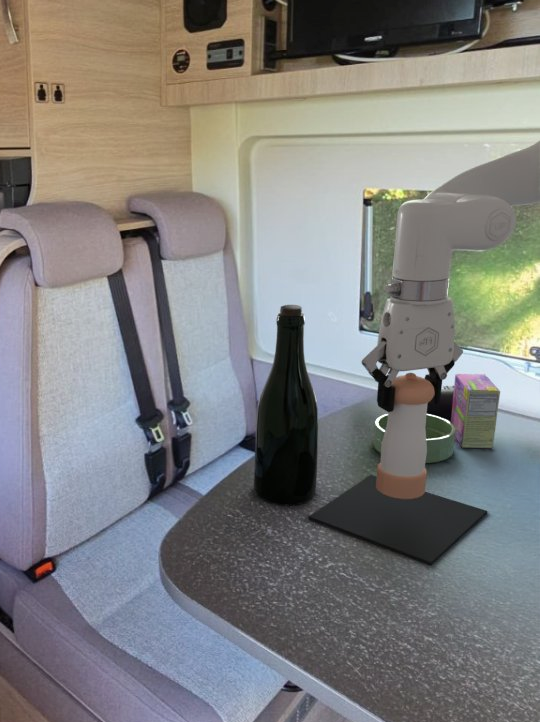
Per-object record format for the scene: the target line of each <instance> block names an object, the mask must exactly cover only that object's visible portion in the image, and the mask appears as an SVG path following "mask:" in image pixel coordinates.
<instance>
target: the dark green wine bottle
mask: <svg viewBox="0 0 540 722" xmlns="http://www.w3.org/2000/svg"><path fill="white" fill-rule="evenodd" d="M275 321H276V323H275V324H276V342H275V350H274V351H275V352H274V356H273V362H272V365H271V368H270V371H269V374H268V376H267V379H266V381H265V383H264V385H263V388H262V389H261V390H262V391H261V393H260V395H259V400H258V404H257V409H256V410H257V411H256V420H255V422H256V424H255V441H254V443H255V444H254V468H253V469H254V470H253V471H254V472H253V473H254V474H253V488H254V491H255V494H256V495H257V496H258V497H259V498H261V499H262V500H264V501H266V502H269V503H271V504H276V505H282V506H294V505H295V506H296V505H301V504H303V503H307V502H308V501H310V500H312V499H313V498H314V497H315V495H316V492H317V480H318V479H317V478H318V477H317V476H318V453H319V452H318V449H319V406H318V400H317V396H316V392H315V390H314V387H313V384H312V382H311V378H310V376H309V372H308V369H307V364H306V359H305V343H304V342H305V340H304V339H305V324H306V317H305V314H304V313H303V307H302V306H300V305H298V304H285V305H282V306H280V309H279V313H278V314H277V317H276V319H275Z"/></svg>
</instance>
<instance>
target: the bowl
mask: <svg viewBox="0 0 540 722" xmlns="http://www.w3.org/2000/svg"><path fill="white" fill-rule="evenodd" d="M387 420H388V413H385V414H382V415H380V416H379V417H377V418H376V419H375V421H374V429H373V439H372V440H373V442H372V445H373V447H374V449H375V450H376V451H377V452H378V453H379V454H381V445H382V441H383V437H384V434H385V430H386V426H387ZM425 430H426V443H427V455H426V462H425V464H431V463H439V462H442V461H445V460H448V459H449V458H450V457H452V456H453V454H454V450H455V449H454V448H455V441H456V440H455V439H456V437H455V433H456V428H455V426H454V425H453V424H452V423H451V421H450V420H446V419H443V418H440V417H438V416H434V415H430V414H427V415H426V425H425Z"/></svg>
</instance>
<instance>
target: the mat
mask: <svg viewBox="0 0 540 722" xmlns="http://www.w3.org/2000/svg"><path fill="white" fill-rule="evenodd" d="M376 479H377V475H373V474H370V475H368V476H367V477H366V478H364V479H363V480H361V481H359V482H358V483H357V484H355V485H354V486H352V487H351V488H349V489H348V490H346V491H344V492H343V493H341V494H340V495H339V496H337V497H335V498H334V499H332V500H331V501H329V502H328V503H326V504H325V505H324V506H322V507H320V508H319V509H317V510H316V511H315V512H313V513H312V514H310V515H309V516H308V519H309V520H311V521H313V522H316V523H319V524H322V525H324V526H326V527H329V528H332V529H333V530H337V531H340V532H342V533H345V534H347V535H351V536H353V537H356V538H358V539H361V540H362V541H366V542H368V543H371V544H374V545H376V546H379V547H381V548H384V549H387V550H389V551H392V552H395V553H398V554H400V555H403V556H405V557H408V558H410V559H413V560H416V561H418V562H421V563H424V564H426V565H429V566H432V565H433V564H434V563H435V562H436V561H438V560H439V559H440V558H441V557H442V556H443V555H444V554H445V553H446V552H447V551H448V550H449V549H450V548H451V547H453V546H454V545H455V544H456V543H458V541H459V540H460V539H462V537H463V536H465V534H467V533H468V532H469V531H470V530H471V529H472V528H473V527H475V525H477V524H478V523H479V522H480V521H481V520H482V519H483V518H484V517H485V516H486V515H487V514H488V510H487V509H482V508H479V507H476V506H473V505H470V504H466V503H463V502H460V501H457V500H454V499H450V498H447V497H444V496H440V495H438V494H434V493H431V492H427V491H425V493H424V494H423V495H422V496H420V497H418V498H413V499H400V498H394V497H390V496H387V495H385V494H382V493H381V492H380V491H378V490H377V488H376Z"/></svg>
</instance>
